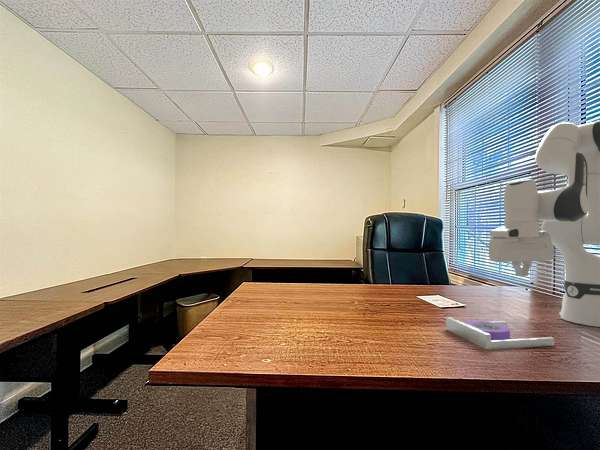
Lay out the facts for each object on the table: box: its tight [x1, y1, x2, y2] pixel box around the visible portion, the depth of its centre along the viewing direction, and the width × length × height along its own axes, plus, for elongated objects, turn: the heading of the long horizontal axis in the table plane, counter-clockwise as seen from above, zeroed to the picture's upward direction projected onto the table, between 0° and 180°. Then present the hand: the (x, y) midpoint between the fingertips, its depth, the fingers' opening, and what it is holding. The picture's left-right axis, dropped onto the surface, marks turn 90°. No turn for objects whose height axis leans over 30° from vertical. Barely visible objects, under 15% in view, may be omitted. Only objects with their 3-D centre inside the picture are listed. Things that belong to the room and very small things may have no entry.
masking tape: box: [464, 320, 511, 340], centre depth 92 cm, size 12×12×4 cm
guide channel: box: [445, 316, 556, 350], centre depth 93 cm, size 22×17×4 cm
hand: (522, 275), depth 95 cm, fingers closed
